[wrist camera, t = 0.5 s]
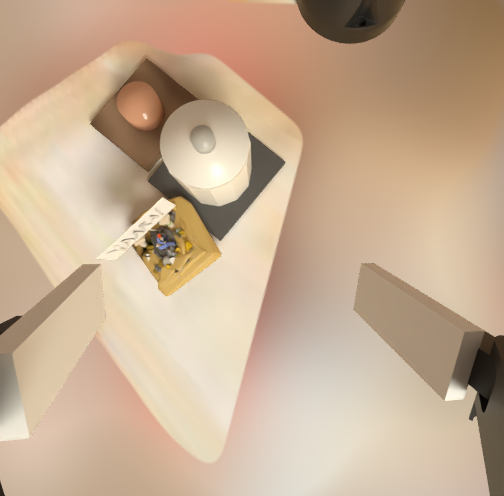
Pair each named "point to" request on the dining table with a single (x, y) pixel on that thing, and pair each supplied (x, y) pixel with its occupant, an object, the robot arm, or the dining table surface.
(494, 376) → the robot arm
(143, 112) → the egg
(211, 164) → the pot with lid
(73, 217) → the dining table surface
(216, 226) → the mat
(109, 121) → the board
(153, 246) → the cake
